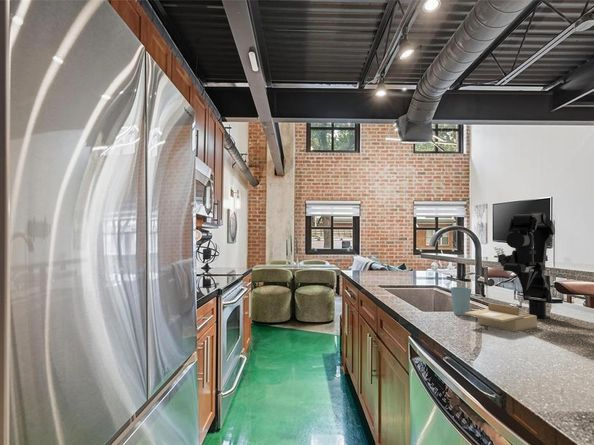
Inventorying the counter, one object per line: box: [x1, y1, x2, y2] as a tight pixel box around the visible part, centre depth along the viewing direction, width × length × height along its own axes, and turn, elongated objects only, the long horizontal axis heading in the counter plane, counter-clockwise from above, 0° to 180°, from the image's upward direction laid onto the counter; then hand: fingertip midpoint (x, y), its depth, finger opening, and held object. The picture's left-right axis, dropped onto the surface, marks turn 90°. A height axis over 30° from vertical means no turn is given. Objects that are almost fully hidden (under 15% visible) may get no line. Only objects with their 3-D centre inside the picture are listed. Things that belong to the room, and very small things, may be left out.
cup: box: [450, 286, 472, 316], centre depth 145 cm, size 8×8×10 cm
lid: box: [465, 302, 525, 322], centre depth 122 cm, size 14×13×3 cm
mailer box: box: [477, 312, 538, 333], centre depth 126 cm, size 14×13×4 cm
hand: (524, 290), depth 131 cm, fingers closed
